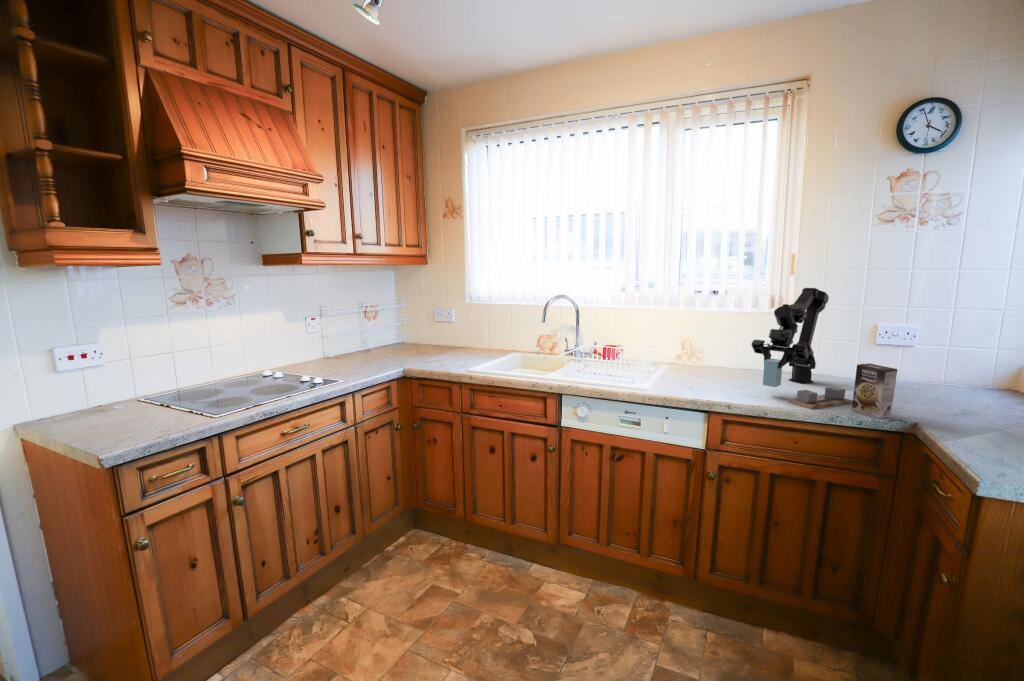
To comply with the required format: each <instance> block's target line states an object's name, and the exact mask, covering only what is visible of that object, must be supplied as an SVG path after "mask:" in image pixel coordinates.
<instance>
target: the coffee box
mask: <svg viewBox="0 0 1024 681" xmlns="http://www.w3.org/2000/svg"><path fill="white" fill-rule="evenodd" d="M897 376H898V369H897V368H893V367H889V366H884V365H879V364H874V363H860V364H859V363H858V364H857V365H856V371H855V380H854V388H853V397H852V400H853V403H851V404H852V405H851V411H852V412H854V411H855V413H859V414H861V415H865V416H869V417H871V418H876V419H884V418H889V417H890V418H891V417H892V410H893V403H894V396H895V395H894V394H895V388H896V383H897Z"/></svg>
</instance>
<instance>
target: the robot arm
mask: <svg viewBox="0 0 1024 681" xmlns="http://www.w3.org/2000/svg"><path fill="white" fill-rule="evenodd" d="M829 298H830V296H829V294H828V293H827V292H825V291H822V290H819V289H818V288H816V287H804V288H802V292H801V293H800V295H799V296H798V297H797V299H796V300H795V301H794V303H792V304H789V303H788V304H787V303H786V304H785V303H783V304H782V306H778V307H776V308H775V310H774V312H773V314H774V317H775V320H776V323H777V326H779V327H778V328H777V329H776V328H771V329H770V330H769V335H768V338H769V339H770V340H769V341H770V343H771V344H769V343H767V342H766V341H765V340H764V339H763V340H762V339H753V340H752V342H751V343H750V344H751V348H752V349H753V351H754V353H755V354H758V355H759V354H761V355H762V356H763V363H764V362H765V360H767V359H770V358H771V357H772V354H771V351H772V352H778V353H779V352H780V353H783V355H782V357H781V358H780V360H781V361H780V363H779V365H778V369H780V368H781V367H782V368H783V367H784V366H785V365H787V364H788V366H789V367H791V368H792V369H791V370H792V371H791V378H788V381H792V382H794V383H798V384H808V383H814V381H813V380H812V374H813V372H812V370H815V369H816V365H817V362H816V358H815V355H814V351H813V348H812V342H813V337H814V334H815V330H816V326H817V322H818V318H819V314H820V313H821V312H822V311H823V310H825V308H826V305H827V304H828V302H829ZM798 324H802V326H801V331H800V333H799V338H798V342H796V343H794V337H795V335H796V333H798V328H799V327H798ZM791 344H792V346H791ZM771 359H772V358H771Z"/></svg>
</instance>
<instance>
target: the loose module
mask: <svg viewBox="0 0 1024 681" xmlns="http://www.w3.org/2000/svg"><path fill="white" fill-rule="evenodd" d="M780 361H781V359H776V358H770V359H767V360H765V362H764V361H763V376H762V386H766V387H771V388H778V387H780V386H781V385H782V374H783V367H781V368H780V369H778V365H779V363H780Z"/></svg>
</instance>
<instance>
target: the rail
mask: <svg viewBox="0 0 1024 681" xmlns="http://www.w3.org/2000/svg"><path fill="white" fill-rule="evenodd" d="M844 398H845V397H844ZM844 398H837V399H836V398H833V397H829V396H819V397H817V401H815V402H805V401H802V400H798V399H797V401H799V402H802V403H805V404H809V403H816V402H823V401H830V400H838V399H844Z"/></svg>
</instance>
